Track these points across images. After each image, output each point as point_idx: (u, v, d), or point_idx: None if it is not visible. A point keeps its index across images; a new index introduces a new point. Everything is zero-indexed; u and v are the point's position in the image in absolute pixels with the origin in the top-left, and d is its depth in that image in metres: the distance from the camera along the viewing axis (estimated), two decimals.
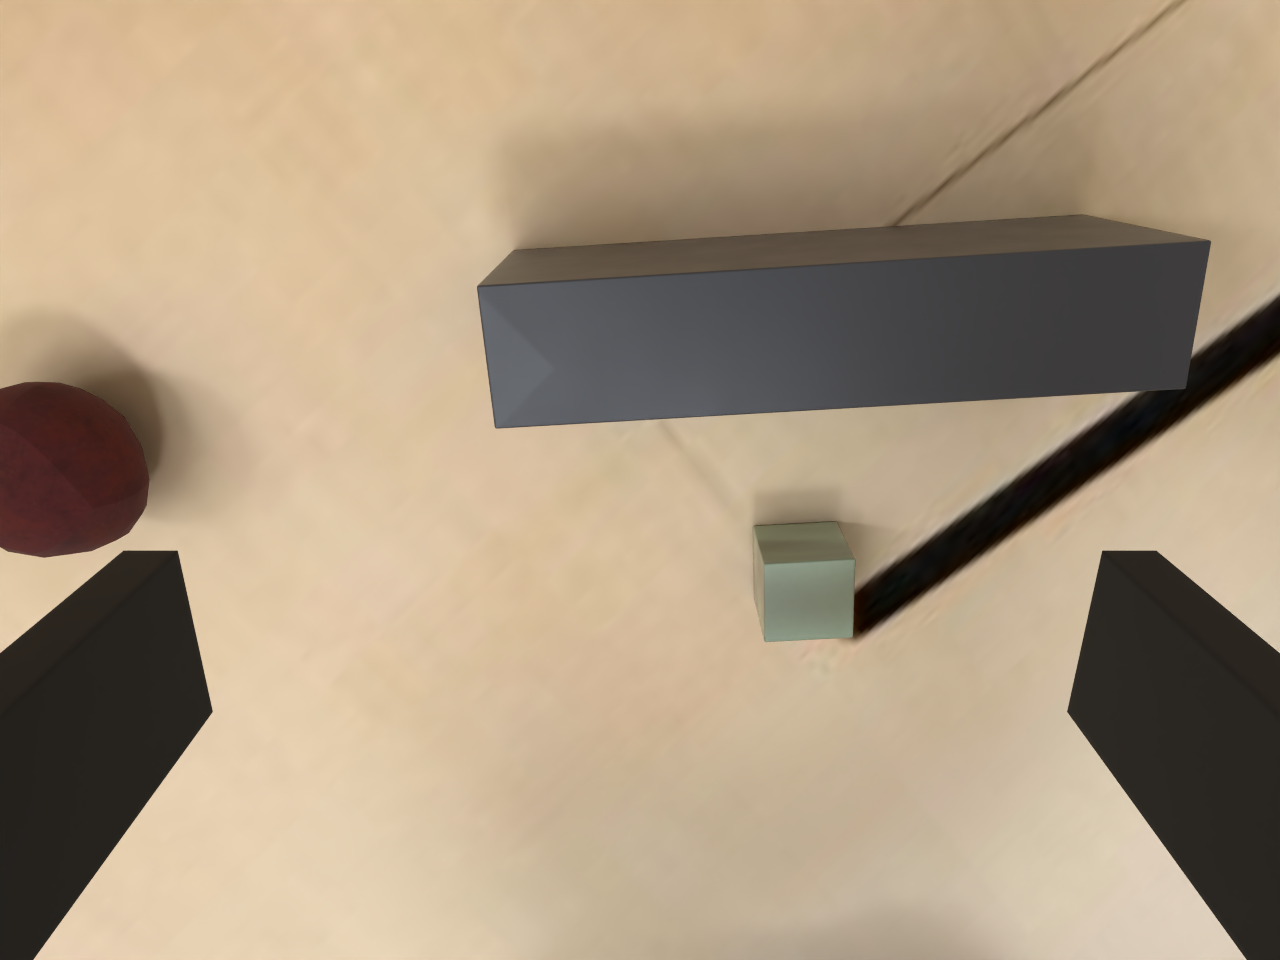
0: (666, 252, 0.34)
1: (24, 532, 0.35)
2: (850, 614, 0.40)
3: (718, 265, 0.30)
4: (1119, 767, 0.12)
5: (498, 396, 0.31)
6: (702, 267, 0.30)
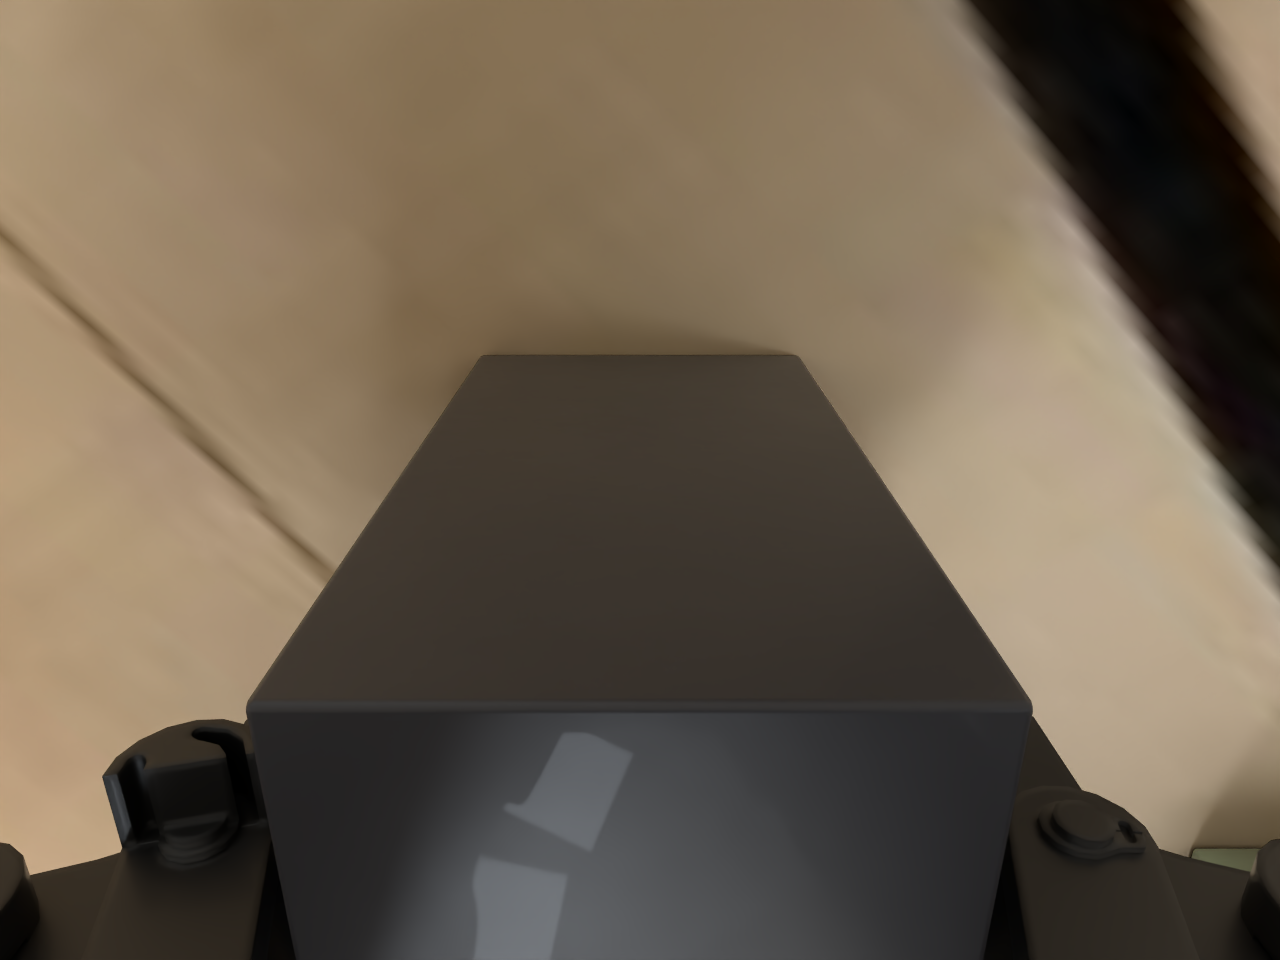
0: None
1: None
2: None
3: None
4: None
5: None
6: None
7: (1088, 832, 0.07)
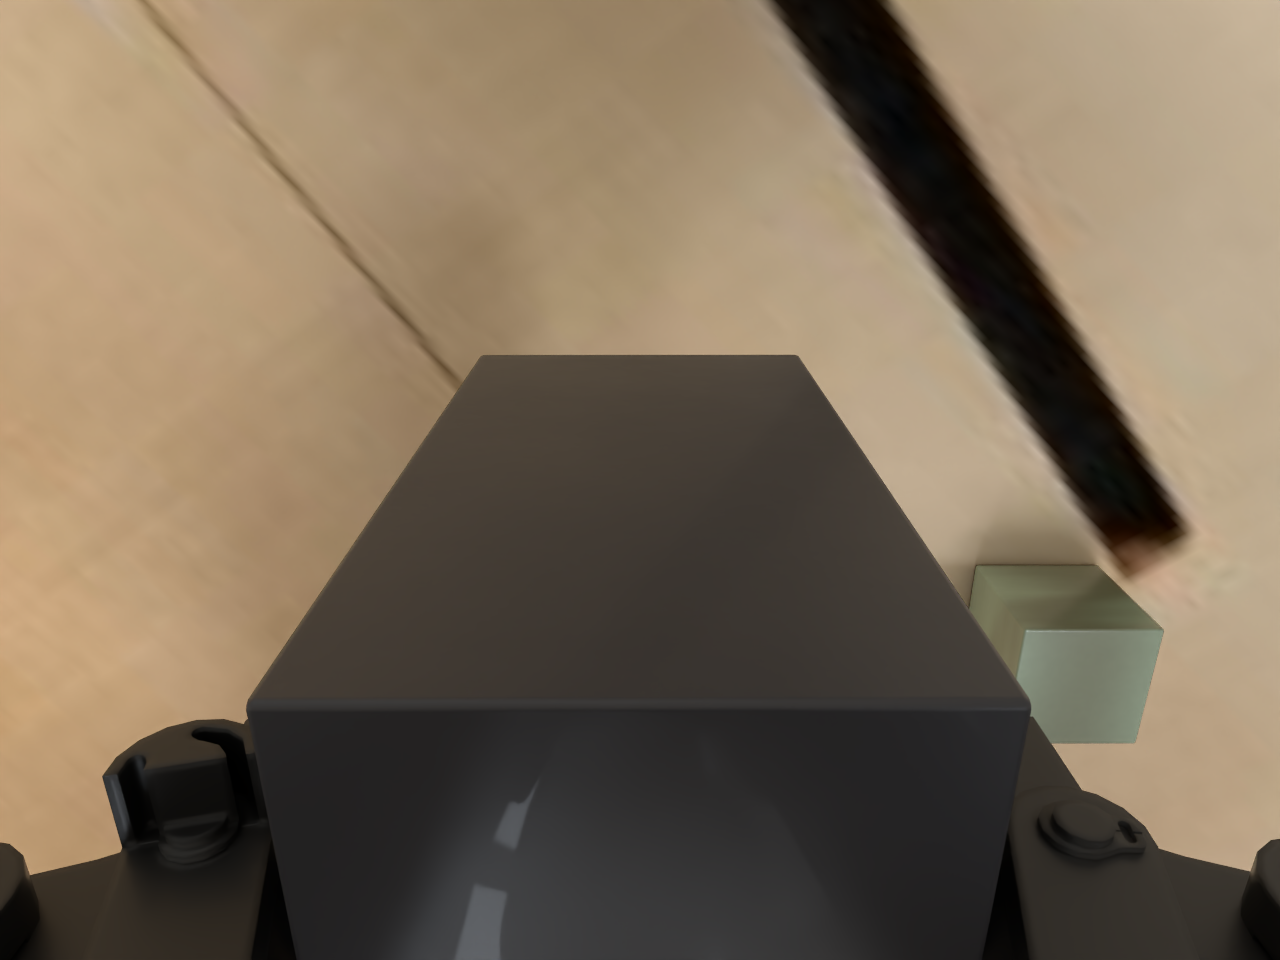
0: None
1: None
2: (1121, 633, 0.25)
3: None
4: None
5: None
6: None
7: (1088, 832, 0.07)
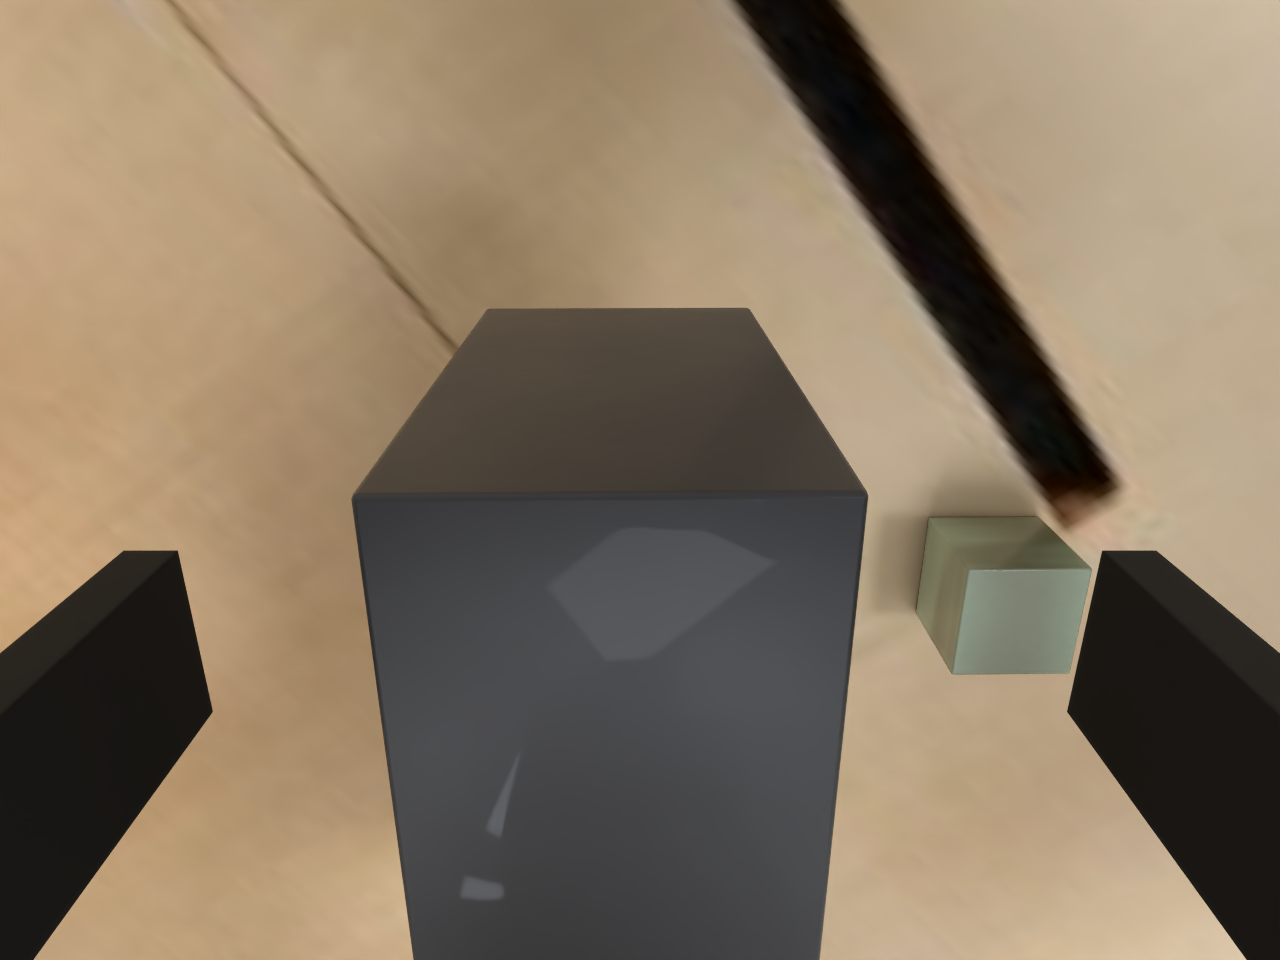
0: None
1: None
2: (1054, 572, 0.28)
3: None
4: (1119, 767, 0.12)
5: None
6: None
7: None
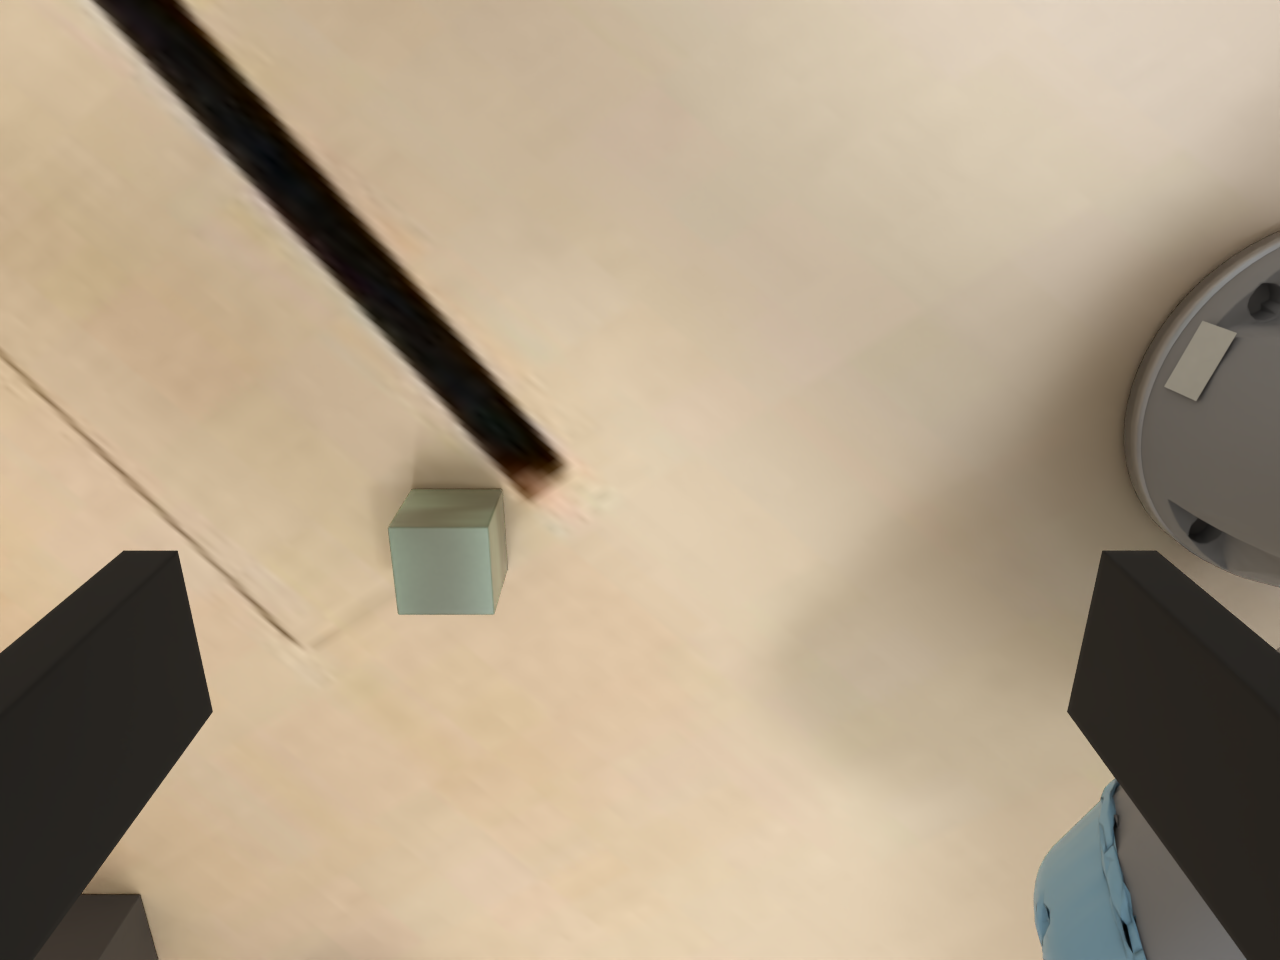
0: None
1: None
2: (457, 530, 0.35)
3: None
4: (1119, 767, 0.12)
5: None
6: None
7: None
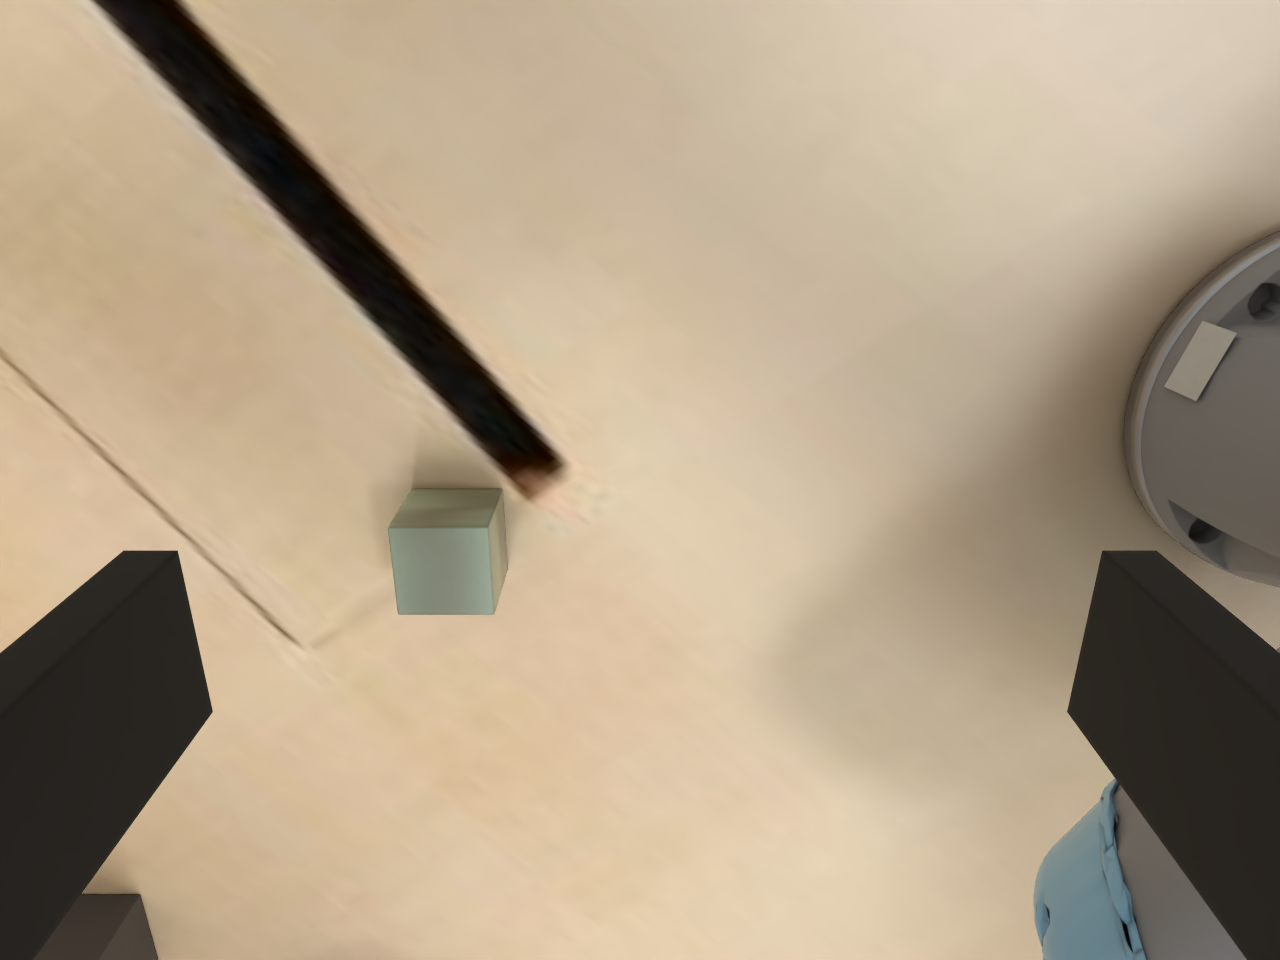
0: None
1: None
2: (457, 530, 0.35)
3: None
4: (1119, 767, 0.12)
5: None
6: None
7: None
